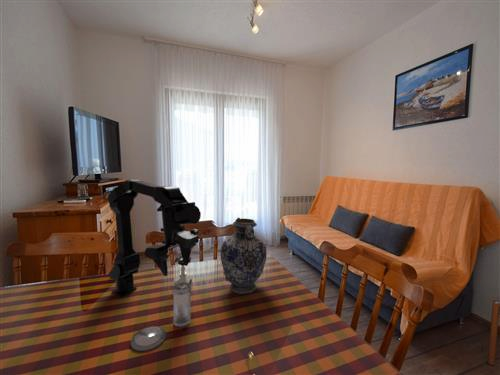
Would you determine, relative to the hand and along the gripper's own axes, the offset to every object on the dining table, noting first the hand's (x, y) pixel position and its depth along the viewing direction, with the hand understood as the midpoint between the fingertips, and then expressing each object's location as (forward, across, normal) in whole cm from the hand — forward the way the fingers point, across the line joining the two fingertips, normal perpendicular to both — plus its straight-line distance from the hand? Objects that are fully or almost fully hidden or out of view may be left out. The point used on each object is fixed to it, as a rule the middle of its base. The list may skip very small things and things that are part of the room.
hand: (176, 270), depth 77 cm
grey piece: (+15, -3, -4) cm, 15 cm away
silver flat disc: (+14, -13, -1) cm, 20 cm away
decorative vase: (+16, +25, -10) cm, 31 cm away
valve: (+13, +13, +11) cm, 22 cm away
